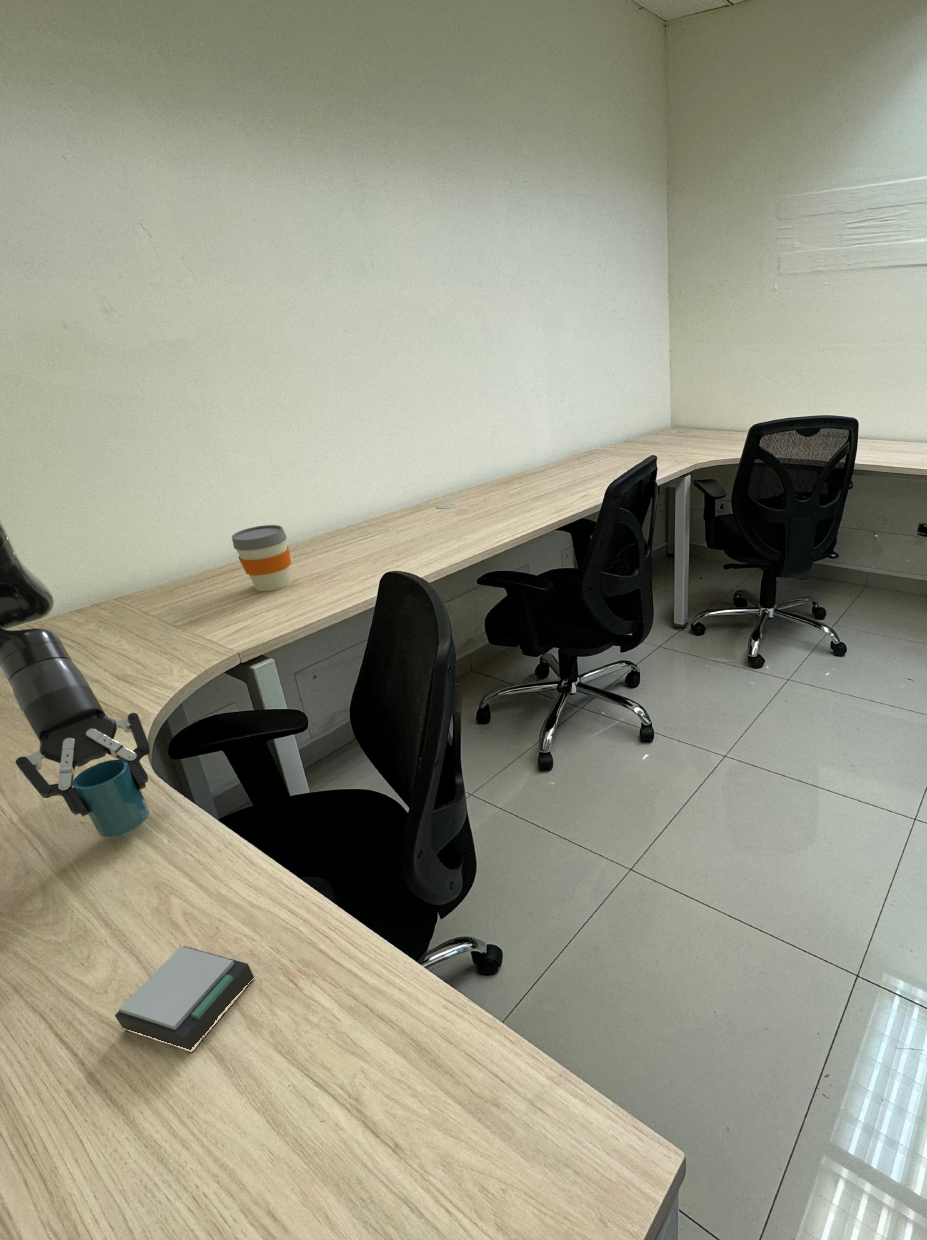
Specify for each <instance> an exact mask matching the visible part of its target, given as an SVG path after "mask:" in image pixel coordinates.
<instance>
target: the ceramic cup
mask: <svg viewBox="0 0 927 1240" xmlns="http://www.w3.org/2000/svg"><path fill="white" fill-rule="evenodd" d="M72 785H73V787H74V788H75V790H76V792H77V793H78V795H79V797H80V799H81V800H82V802H83V804H84V806H85V808H86V809H87V811H88V814H87V816H88V817H89V819H90V821H91V822H92V825H93V827H94V829H95V830H96V832H97V833H98V835H99V836H101V837H103V838H114V837H118V836H122V835H124V834H127V833H130V832H131V831H133V830H135V829H137V828H138V827H140V826H141V825H142V824H143V823H144V822H145V821H146V820H147V819H148V817H149V816H150V809H149V805H148V804H147V802H146V800H145V797H144V795H143V792H142V791H141V790H140V789H139V787H138V785H137V783H136V781H135V779H134V777H133V774H132V772H131V770H130V768H129V766H128V764H127V763H126V761H124V760H119V759H109V760H105V761H102V762H99V763H96V764H94V765H93V766H90V767H88V768H86V769H84V770H83V771H81V772H80V773H78V774H77V775H76V776H75V777H74V780H73V783H72Z"/></svg>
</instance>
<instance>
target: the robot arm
mask: <svg viewBox="0 0 927 1240" xmlns="http://www.w3.org/2000/svg"><path fill="white" fill-rule="evenodd" d="M54 602H55V601H54V596H53V594H52V592H51V590H50V589H49V587H48V586H47V585H46V584H45V583H44V582H43V581H42V580H41V579H40V578H39V577H38V576H36V574H34V573H33V572H32V571H31V570H30V569H29V568H28V567H27V566H26V565H25V564H24V563H23V562H22V561H21V559H20V558H19V556H18V554H17V553H16V550H15V549H14V546H13V544H12V542H11V540H10V537H9V536H8V533H7V531H6V529H5V527H4V525H3V523H2V521H1V520H0V668H1V670H2V672H3V674H4V676H5V677H6V679H7V681H8V682H9V684H10V686H11V689H12V693H13V696H14V698H15V700H16V702H17V704H18V705H19V709H20V711H21V712H23V714H24V716H25V719H26V720H27V721H28V723H29V726H30V727H31V728H32V731H33V733H34V734H35V736H36V738H37V740H38V742H39V750H38V751H36V752H34V753H31V754H30V755H27V756H19V757H18V758H16V760H15V765H16V766H17V768H18V769H19V771H20V772H21V773H22V774H23V775H24V777H25V778H26V780H28V782H29V783H30V784H31V785H32V786H33V788H34V789H35V790H36V791H37V792H38V794H39V795H40V796H41V798H43V799H49V798H51V797H55V796H57V797H58V796H59V797H62V798H63V799H64V801H65V803H66V804H67V807H68V809H69V810H70V812H71V814H73V815H74V816H77V815H79V814H80V815H81V817H82V818H83V817H85V816H88V811H87V809H86V808H85V806H84V804H83V802H82V800H81V799H80V797H79V795H78V793H77V792H76V790H75V788H74V787H73V785H72V783H73V781H74V779H75V777H76V776H75V774H76V767H78V768H80V767H82V766H85V765H87V764H88V763H90V762H91V761H94V760H95V761H96V760H99V759H101V758H104V757H106V756H107V755H108V756H109V757H111V758H113V759H114V760H124V761H126V763H127V764H128V766H129V768H130V770H131V772H132V774H133V777H134V779H135V781H136V783H137V785H138V787H139V789H140V791H141V790H143V789H145V788H146V787H147V784H146V783H148V782H149V775H148V773H147V771H146V770H145V768H144V767H143V765H142V763H141V759H142V758H143V757H145V756H147V755H149V754H150V751H151V750H150V743H149V741H148V738H147V736H146V733H145V729H144V728H143V725H142V722H141V719H140V716H139V714H138V713H136V712H131V713H129V714H128V715H127V716H126V717H122V718H118V719H112V718H110V717H109V716H108V715H107V713H106V712H105V710H104V709H103V707H102V705H101V704H100V702H99V700H98V699H97V697H96V695H95V693H94V692H93V690H92V688H91V687H90V684H89V683H88V681H87V679H86V678H85V676H84V675H83V672H81V670H80V669H79V668H78V667H77V666H76V664H75V663H74V661H73V659H72V658H71V656H70V654H69V653H68V651H67V650H66V649H67V648H66V647H65V646H64V644H63V642H62V640H61V639H60V638H59V636H58V635H57V633H56V632H54V631H53V630H51V629H48V628H42V627H41V628H27V629H26V628H25V629H17V630H10V629H11V628H14V627H17V626H18V627H19V626H21V625H24V624H27V623H31V622H35V621H38V620H41V619H43V618H45V617H47V616H48V615H49V614H50V613H51V612H52V610H53V607H54ZM8 629H9V630H8ZM117 729H122V730H123V731H124V733H128V734H129V733H131V734H132V737H133V739H134V742H135V746H136V748H134V749H133V750H131V749H129V748H127V747H125V746H124V745H123V744H122V743H120V742H118V741H117V740H115V736H116V734H117ZM44 759H46V760H50V761H53V762H56V763H58V764H59V776H58V782H57V783H51V784H49V782H48V781H47V780H46V779H45V778H44V776H43V775H42V774H41V772H40V770H42V768H43V764H42V761H43V760H44Z"/></svg>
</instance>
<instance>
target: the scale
mask: <svg viewBox="0 0 927 1240" xmlns="http://www.w3.org/2000/svg"><path fill="white" fill-rule="evenodd" d="M253 978H255V976H254V973H253V972H252V968H251V967H250V964H249V963H246V962H243V961H239V960H237V959H236V960H235V959H232V958H229V957H225V956H221V955H218V954H214V953H211V952H208V951H204V950H199V949H196V948H192V947H189V946H186V945H183V946H182V945H180V946H179V947H178V948H177V950H176V951H175V952H174V953H173V954H172V955H171V956H170V957H169V958H168V959H167V960H166V961H165V962H164V963H162V965H160V966H159V967H158V969H157V970H156V971H155V972H153V974H152V975H151V976H150V977H149V978H148V979H147V980H146V981H144V983H143V984H142V985H141V986H140V987H138V989H137V990H136V991H135V992H134V993H133V994H132V995H131V996H130V997H129V998H128V999H127V1000H125V1002H124V1003H123V1004H122V1005H121V1006H120V1007H119V1008H118V1012H116V1013H115V1014H114V1017H115V1019H116V1020H117V1022H118V1024H119V1025H120V1026H121V1028H122V1029H123V1028H125V1029H127V1030H131V1031H134V1032H137V1033H141V1034H143V1035H146V1036H150V1037H152V1038H156V1039H158V1040H161V1041H164V1042H167V1043H171V1044H173V1045H176V1046H180V1047H183V1048H186V1049H189V1050H191V1049H192V1047H194V1045H195V1044H196V1043H197V1042H198V1041H199V1040H200V1038H202V1036H203V1035H205V1033H206V1032H207V1031H208V1030H209V1028H210V1027H211V1026H212V1025H213V1024H214V1022H215V1020H217V1018H218V1016H219V1015H220V1014H221V1013H222V1012H223V1011H224V1010H225V1008H226V1007H227V1006H228V1005H229V1004H230V1003H231V1001H232V1000H233V999H234V998H235V997H236V996H237V995H238V994H239V993H240V992H241V991H242V990H243V988H244V987H245V986H246V985H248V983H249V982H250V981H251V980H252V979H253Z"/></svg>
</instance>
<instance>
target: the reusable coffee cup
mask: <svg viewBox="0 0 927 1240" xmlns="http://www.w3.org/2000/svg"><path fill="white" fill-rule="evenodd" d="M287 539H288V537H287V535H286V532H285V531H284V528H283V526H282V525H280V524H279V525H278V524H265V525H257V526H253V527H248V528H245V529H242V530H239V531H236V532H235V533H233V534H232V536H231V540H232V545H233V549H234V550H236V552H237V553H238V560H239V562H240V564H241V566H242V568H243V570H244V572H245V573H246V574H247V575H248V576H249V579H250V580H251V583H252V584H253V586H254V588H255V590H256V591H258V592H273V591H278V590H281V589H283V588H284V589H285V588H286V587H288V586H290V585H291V584H292V583H293V577H292V571H291V565H292V559H291V553H290V548H289V546H287Z"/></svg>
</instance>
